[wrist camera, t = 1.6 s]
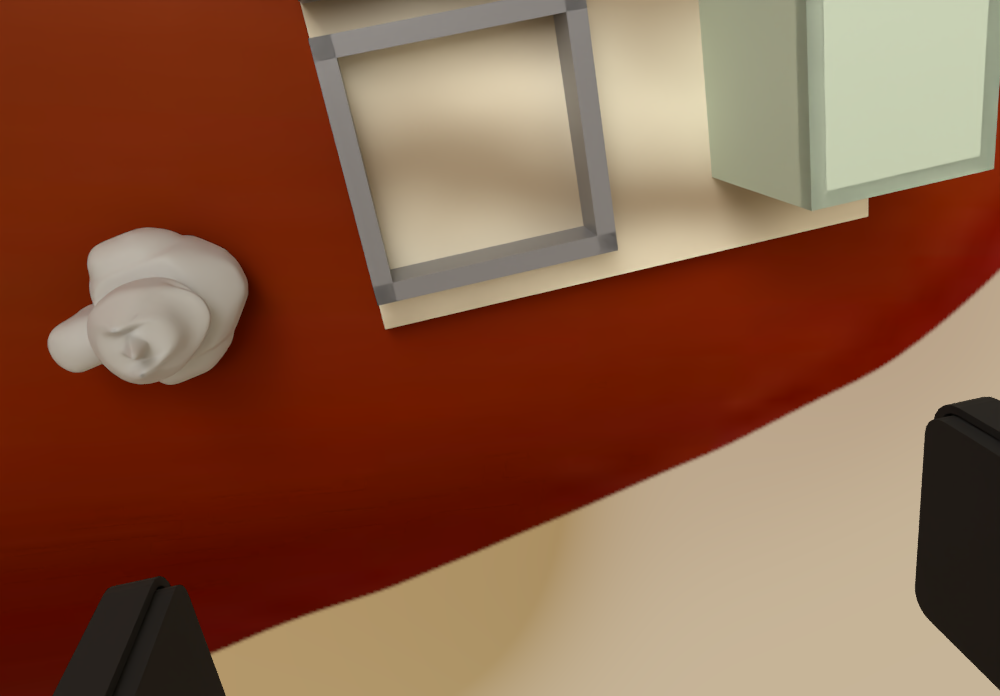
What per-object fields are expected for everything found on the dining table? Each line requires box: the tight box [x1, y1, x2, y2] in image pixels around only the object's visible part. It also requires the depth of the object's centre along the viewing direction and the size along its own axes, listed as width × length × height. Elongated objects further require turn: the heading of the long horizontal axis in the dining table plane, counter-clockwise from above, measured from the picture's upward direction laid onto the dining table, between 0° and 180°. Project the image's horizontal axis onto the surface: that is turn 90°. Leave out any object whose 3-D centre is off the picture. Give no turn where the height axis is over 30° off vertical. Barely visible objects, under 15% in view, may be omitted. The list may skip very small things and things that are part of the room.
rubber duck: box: [48, 228, 248, 385], centre depth 25 cm, size 5×7×8 cm
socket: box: [308, 0, 618, 306], centre depth 27 cm, size 9×9×2 cm
